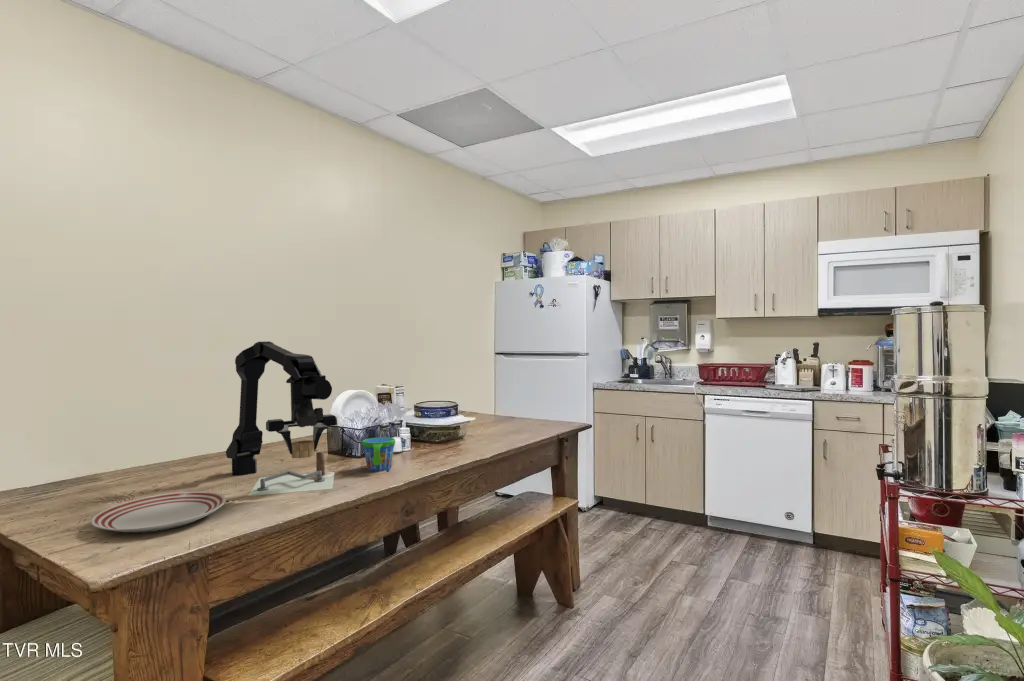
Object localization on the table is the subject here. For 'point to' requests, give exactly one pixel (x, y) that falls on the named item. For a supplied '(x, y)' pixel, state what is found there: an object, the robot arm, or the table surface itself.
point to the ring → (302, 449)
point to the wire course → (291, 483)
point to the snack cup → (379, 453)
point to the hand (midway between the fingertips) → (302, 452)
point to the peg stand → (321, 466)
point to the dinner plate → (158, 512)
